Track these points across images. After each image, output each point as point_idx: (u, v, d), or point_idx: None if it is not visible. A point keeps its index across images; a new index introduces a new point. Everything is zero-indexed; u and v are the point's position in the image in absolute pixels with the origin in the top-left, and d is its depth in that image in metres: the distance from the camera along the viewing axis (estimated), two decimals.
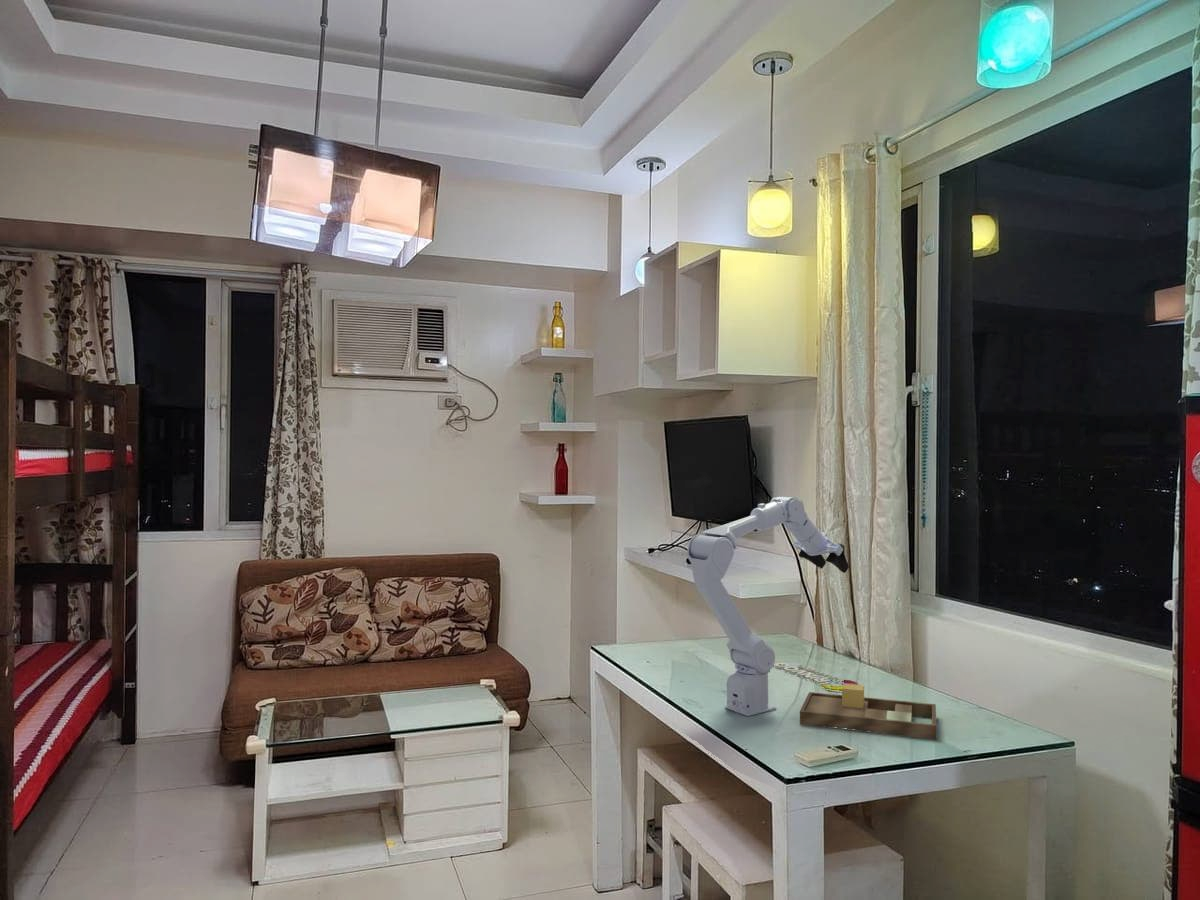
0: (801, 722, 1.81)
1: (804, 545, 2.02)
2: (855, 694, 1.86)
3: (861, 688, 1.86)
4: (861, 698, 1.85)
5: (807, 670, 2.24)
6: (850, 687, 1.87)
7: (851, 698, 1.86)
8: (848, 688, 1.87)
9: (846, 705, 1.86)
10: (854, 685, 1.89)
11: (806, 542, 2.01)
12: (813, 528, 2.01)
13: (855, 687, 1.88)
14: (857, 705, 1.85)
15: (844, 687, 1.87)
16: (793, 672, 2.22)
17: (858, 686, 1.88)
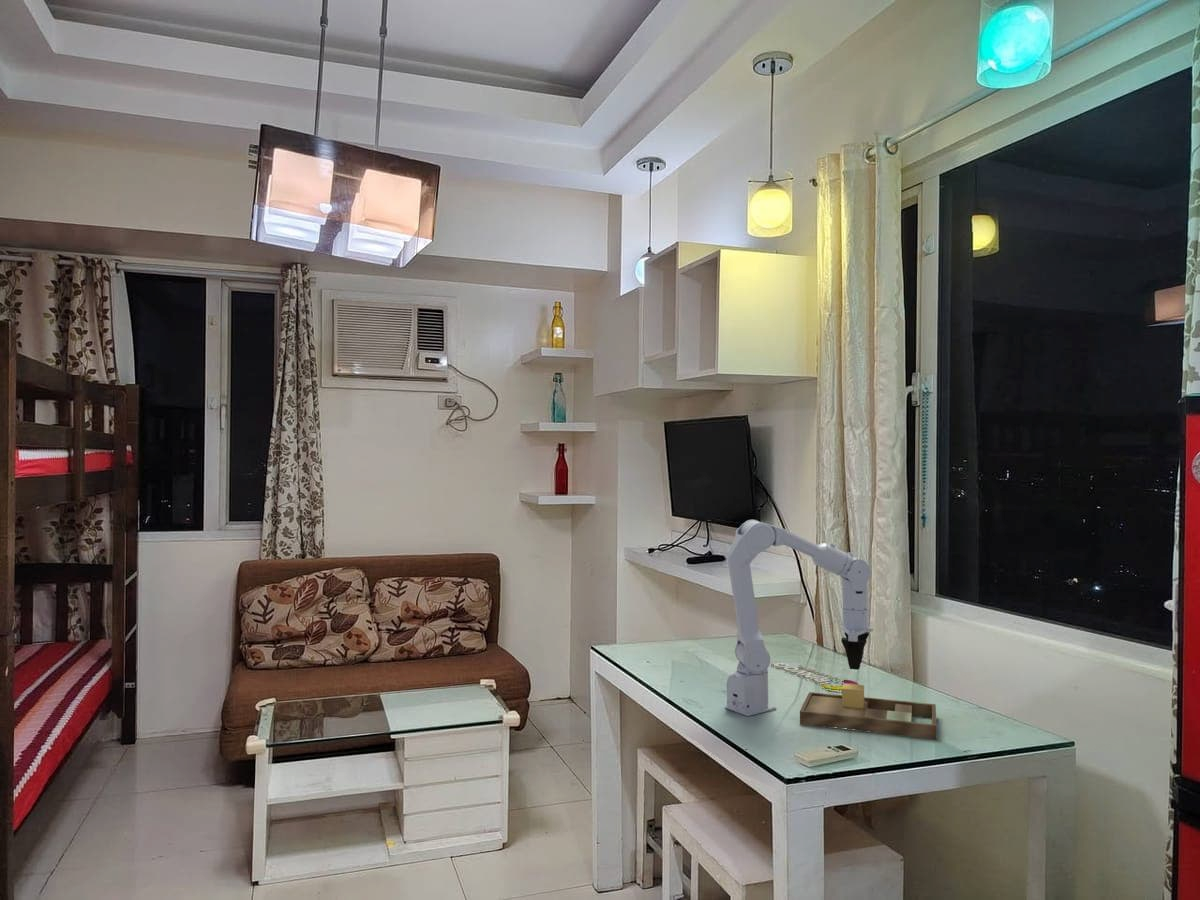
0: (801, 722, 1.81)
1: None
2: (855, 694, 1.86)
3: (861, 688, 1.86)
4: (861, 698, 1.85)
5: (807, 670, 2.24)
6: (850, 687, 1.87)
7: (851, 698, 1.86)
8: (848, 688, 1.87)
9: (846, 705, 1.86)
10: (854, 685, 1.89)
11: (843, 610, 1.95)
12: (862, 605, 1.92)
13: (855, 687, 1.88)
14: (857, 705, 1.85)
15: (844, 687, 1.87)
16: (793, 672, 2.22)
17: (858, 686, 1.88)
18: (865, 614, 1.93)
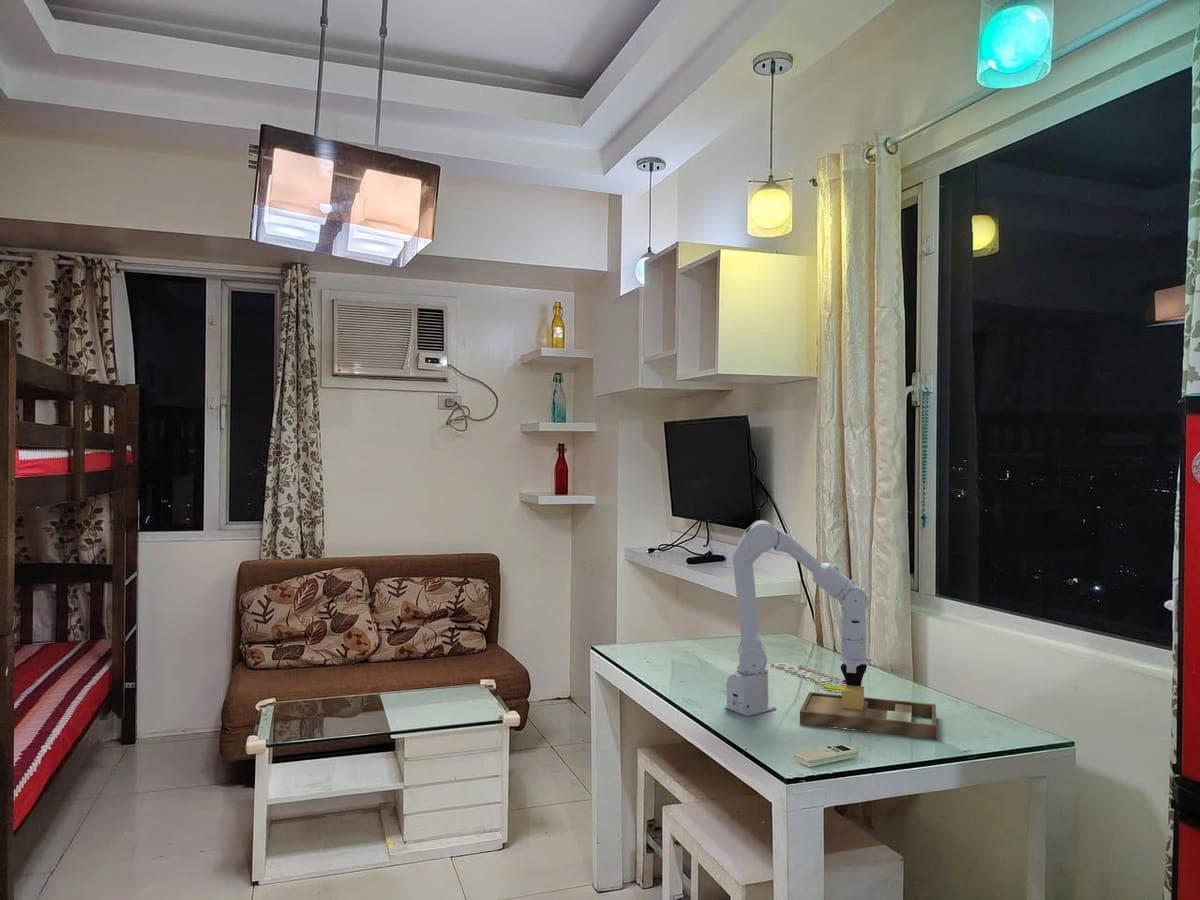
0: (801, 722, 1.81)
1: None
2: (854, 696, 1.84)
3: (861, 690, 1.85)
4: (861, 699, 1.84)
5: (807, 670, 2.24)
6: (850, 689, 1.86)
7: (851, 699, 1.85)
8: (847, 689, 1.86)
9: (846, 707, 1.85)
10: (854, 687, 1.88)
11: (841, 640, 1.90)
12: (858, 635, 1.87)
13: (855, 688, 1.87)
14: (857, 707, 1.84)
15: (844, 688, 1.86)
16: (793, 672, 2.22)
17: (858, 687, 1.87)
18: (864, 644, 1.88)
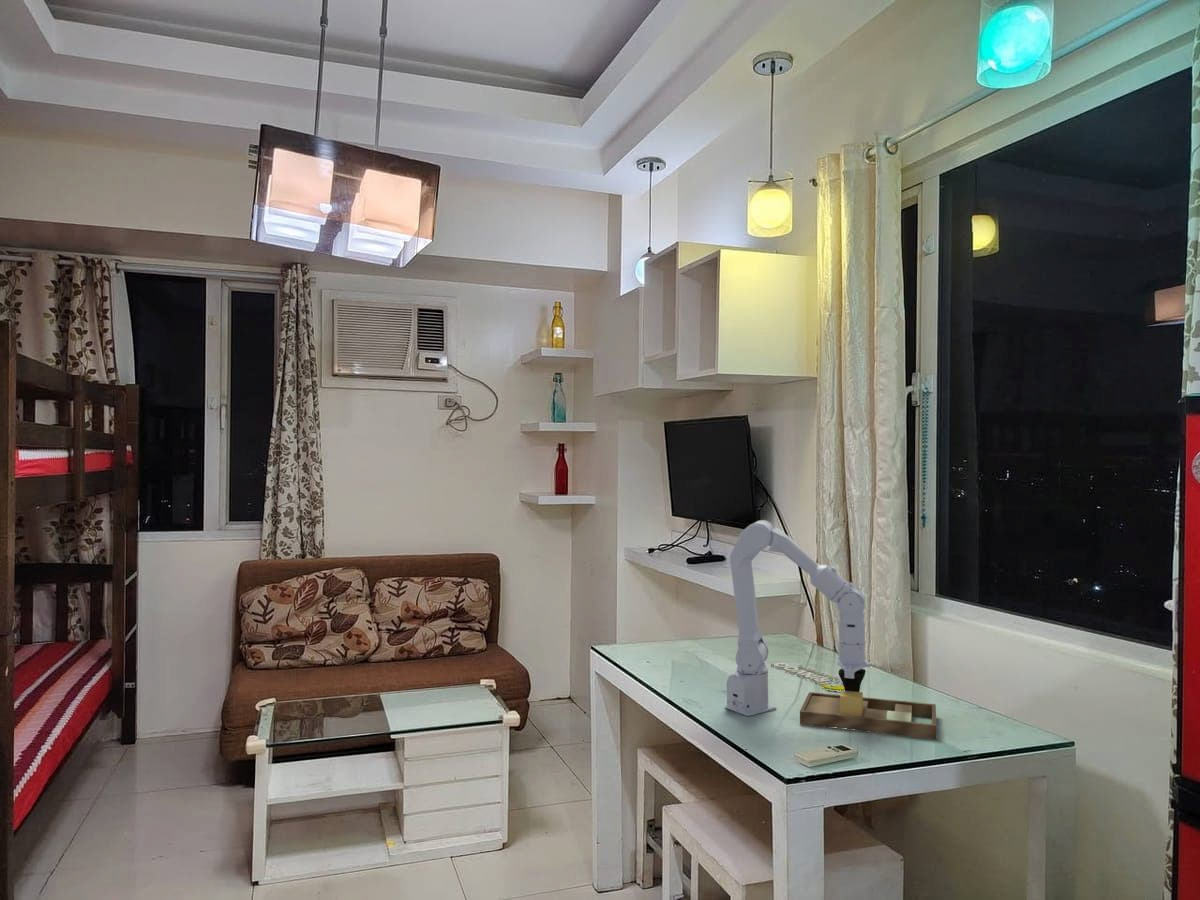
0: (801, 722, 1.81)
1: None
2: (853, 702, 1.80)
3: (860, 696, 1.81)
4: (859, 706, 1.79)
5: (807, 670, 2.24)
6: (848, 695, 1.81)
7: (849, 705, 1.80)
8: (846, 695, 1.81)
9: (844, 713, 1.81)
10: (852, 693, 1.83)
11: (839, 645, 1.85)
12: (854, 639, 1.83)
13: (853, 694, 1.82)
14: (855, 713, 1.80)
15: (842, 694, 1.82)
16: (793, 672, 2.22)
17: (856, 693, 1.83)
18: (862, 649, 1.84)
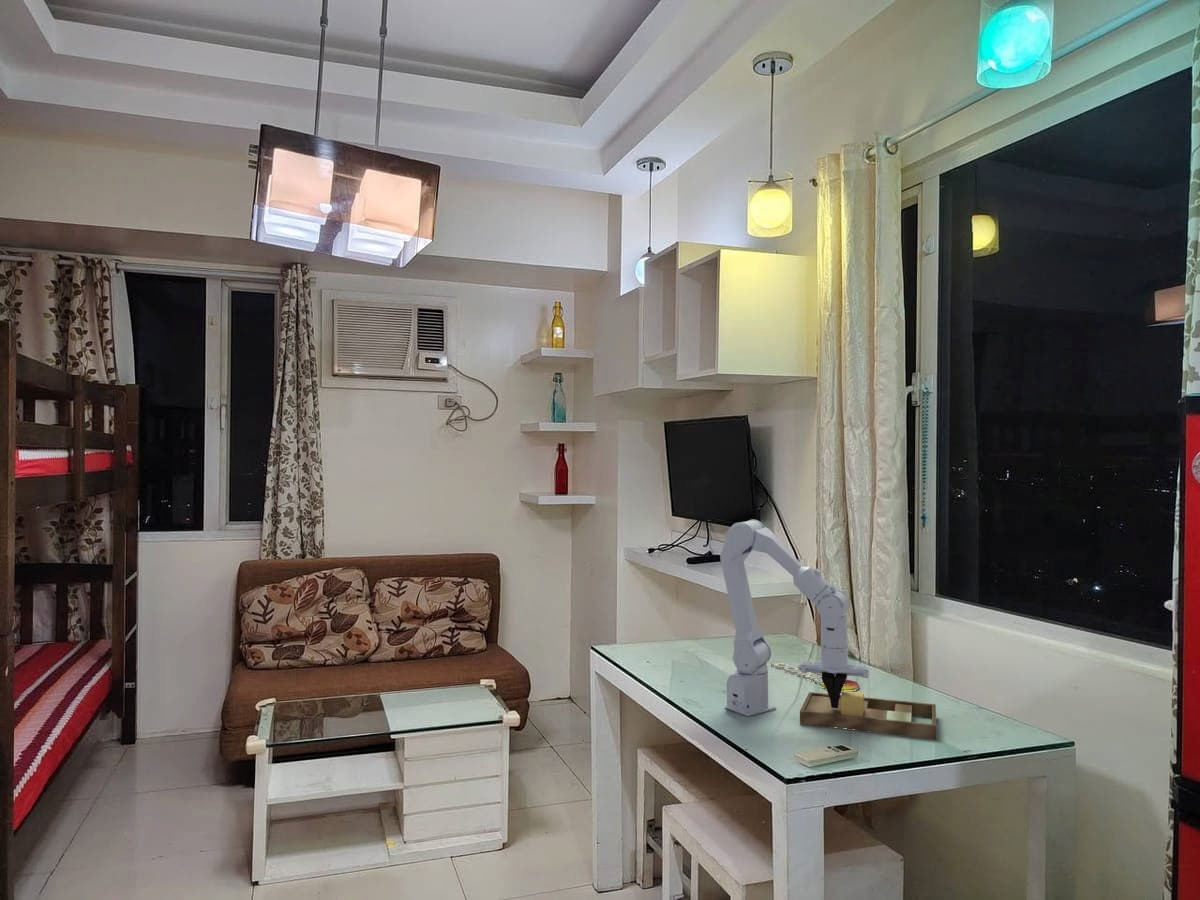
0: (801, 722, 1.81)
1: None
2: (854, 702, 1.80)
3: (861, 696, 1.81)
4: (861, 706, 1.79)
5: None
6: (849, 695, 1.81)
7: (850, 706, 1.80)
8: (847, 695, 1.81)
9: (845, 713, 1.80)
10: (854, 693, 1.83)
11: None
12: (834, 643, 1.81)
13: (854, 694, 1.82)
14: (857, 713, 1.80)
15: (843, 694, 1.82)
16: (793, 672, 2.22)
17: (858, 693, 1.82)
18: (826, 652, 1.82)
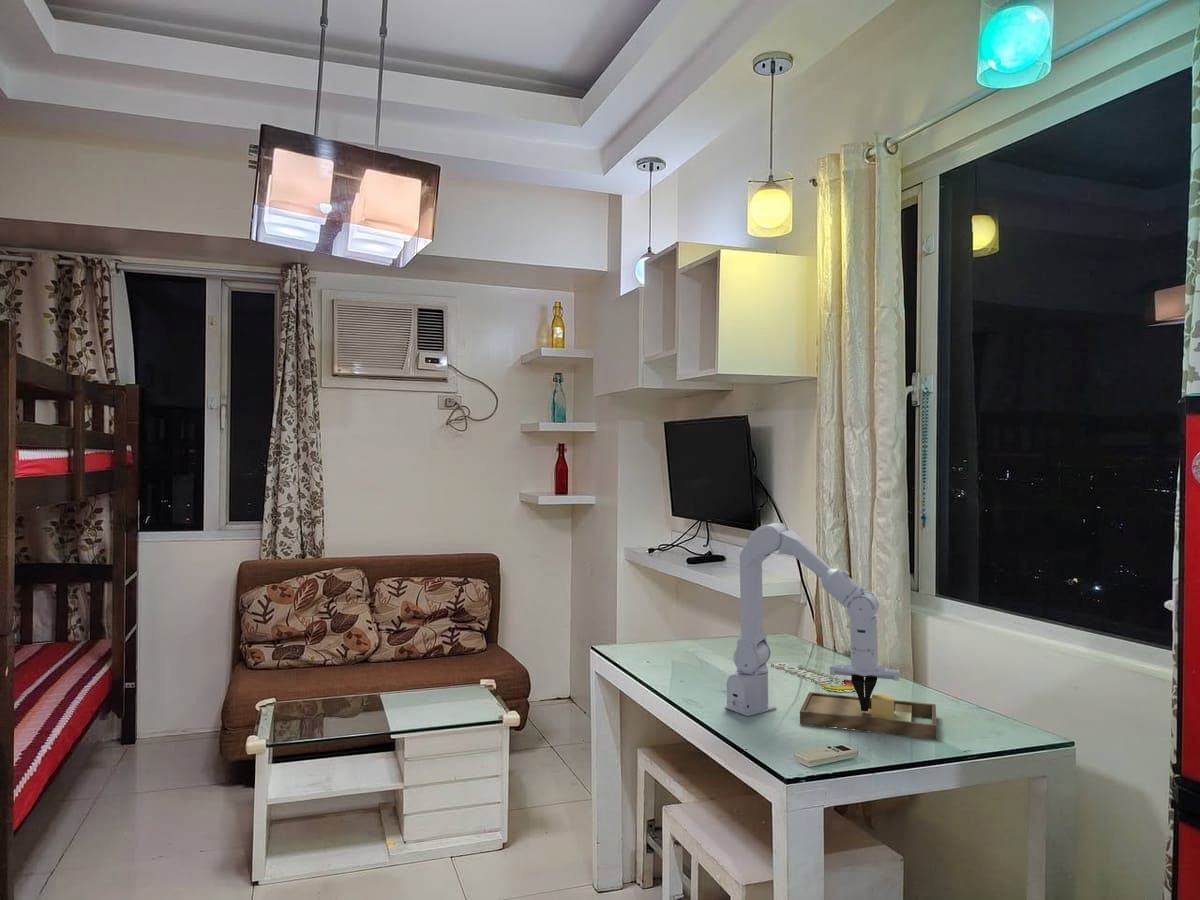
0: (801, 722, 1.81)
1: None
2: (885, 705, 1.77)
3: (892, 699, 1.78)
4: (892, 709, 1.77)
5: (807, 670, 2.24)
6: (880, 698, 1.79)
7: (881, 709, 1.78)
8: (877, 698, 1.79)
9: (876, 716, 1.78)
10: (884, 695, 1.81)
11: None
12: (864, 645, 1.78)
13: (885, 697, 1.80)
14: (887, 716, 1.77)
15: (873, 697, 1.79)
16: (793, 672, 2.22)
17: (888, 696, 1.80)
18: (856, 654, 1.79)
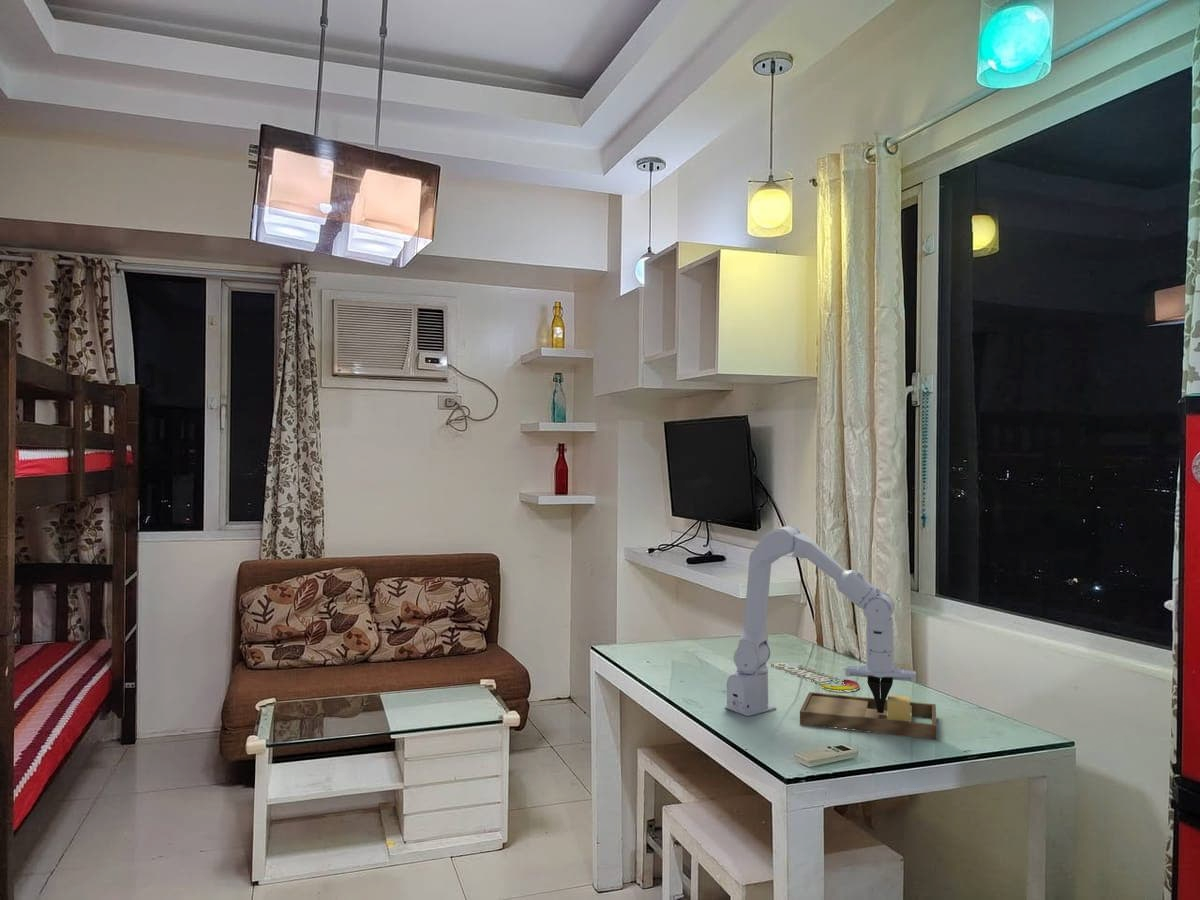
0: (801, 722, 1.81)
1: None
2: (901, 706, 1.76)
3: (908, 700, 1.77)
4: (908, 710, 1.76)
5: (807, 670, 2.24)
6: (895, 699, 1.78)
7: (897, 710, 1.77)
8: (893, 700, 1.77)
9: (892, 718, 1.77)
10: (900, 697, 1.79)
11: None
12: (881, 647, 1.77)
13: (901, 698, 1.79)
14: (904, 718, 1.76)
15: (889, 699, 1.78)
16: (793, 672, 2.22)
17: (904, 698, 1.79)
18: (872, 656, 1.78)
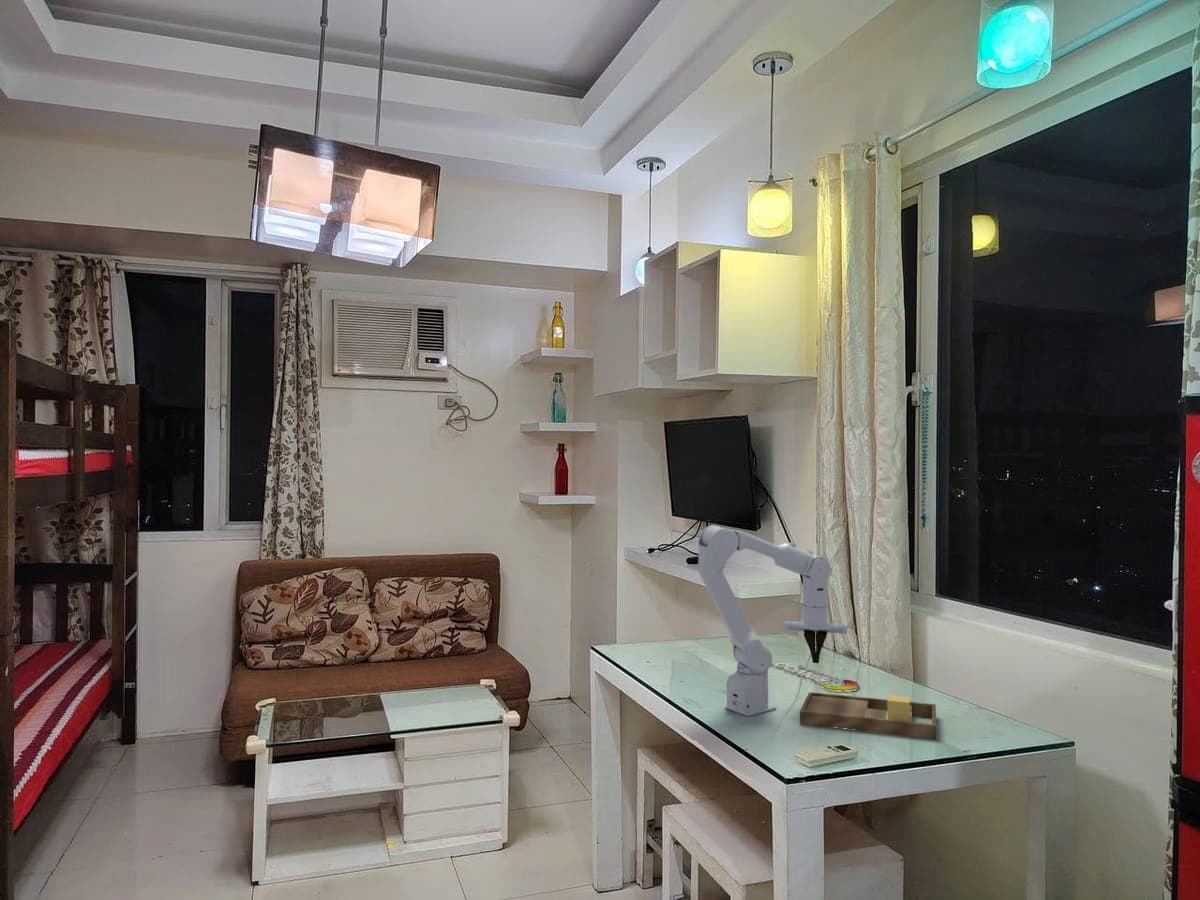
0: (801, 722, 1.81)
1: None
2: (901, 706, 1.76)
3: (908, 700, 1.77)
4: (908, 710, 1.76)
5: (807, 670, 2.24)
6: (895, 699, 1.78)
7: (897, 710, 1.77)
8: (893, 700, 1.77)
9: (892, 718, 1.77)
10: (900, 697, 1.79)
11: None
12: (823, 602, 1.94)
13: (901, 698, 1.79)
14: (904, 718, 1.76)
15: (889, 699, 1.78)
16: (793, 672, 2.22)
17: (904, 698, 1.79)
18: (808, 611, 1.95)
